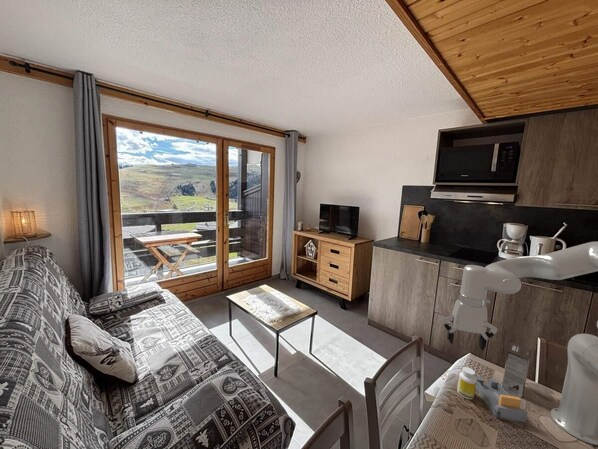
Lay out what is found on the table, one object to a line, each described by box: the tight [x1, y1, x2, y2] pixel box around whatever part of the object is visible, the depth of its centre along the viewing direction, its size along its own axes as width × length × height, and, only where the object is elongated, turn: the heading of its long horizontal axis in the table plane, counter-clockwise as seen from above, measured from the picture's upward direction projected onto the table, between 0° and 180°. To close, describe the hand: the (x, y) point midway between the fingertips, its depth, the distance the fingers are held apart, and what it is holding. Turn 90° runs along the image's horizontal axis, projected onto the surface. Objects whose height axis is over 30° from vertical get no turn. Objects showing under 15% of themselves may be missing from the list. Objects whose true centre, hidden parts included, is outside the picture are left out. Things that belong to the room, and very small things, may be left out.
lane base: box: [475, 375, 528, 424], centre depth 91 cm, size 9×16×4 cm, turn 171°
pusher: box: [493, 392, 522, 409], centre depth 88 cm, size 6×8×6 cm
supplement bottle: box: [456, 366, 476, 400], centre depth 93 cm, size 5×5×10 cm
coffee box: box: [501, 342, 532, 399], centre depth 97 cm, size 9×6×16 cm
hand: (465, 344), depth 90 cm, fingers open, 9 cm apart
